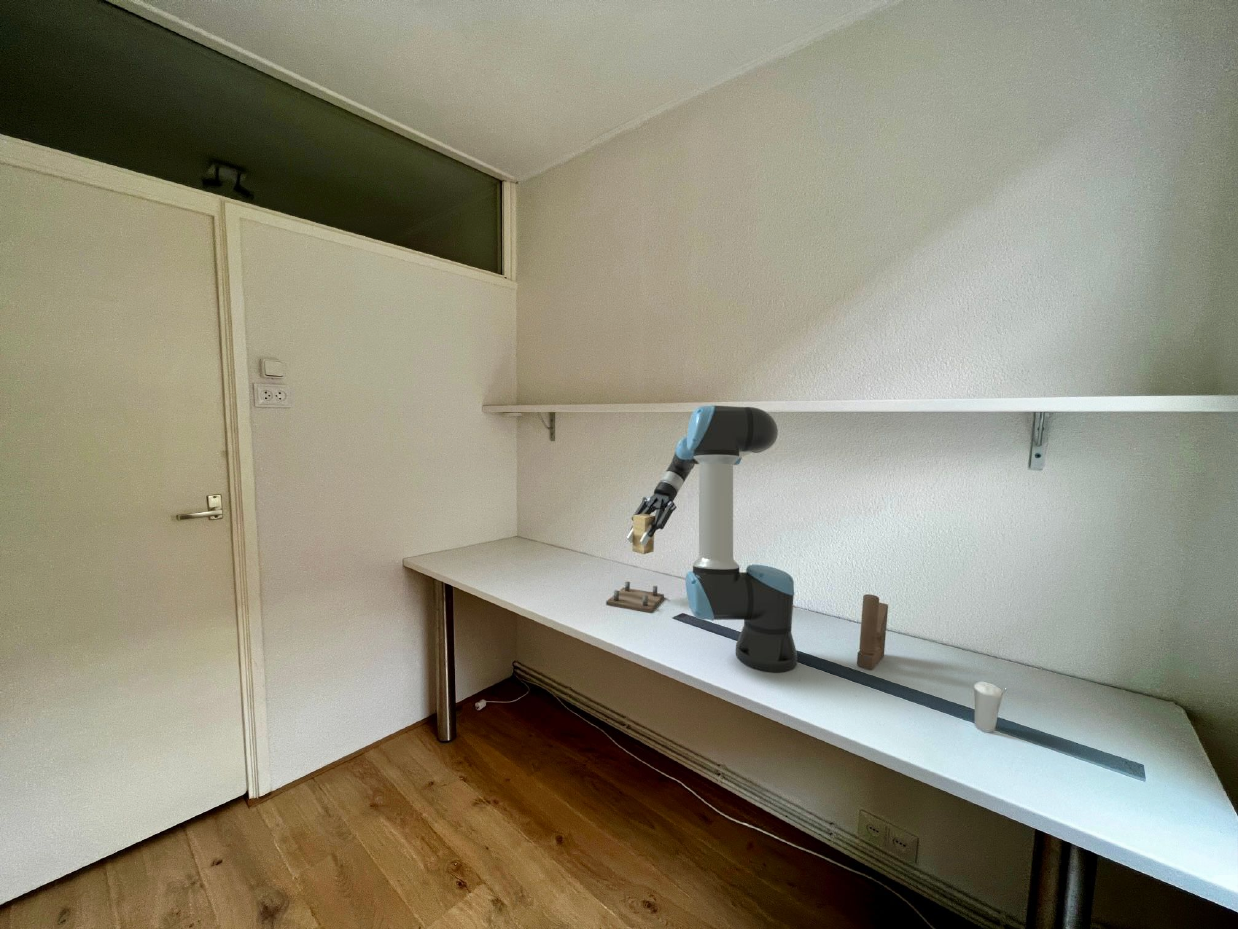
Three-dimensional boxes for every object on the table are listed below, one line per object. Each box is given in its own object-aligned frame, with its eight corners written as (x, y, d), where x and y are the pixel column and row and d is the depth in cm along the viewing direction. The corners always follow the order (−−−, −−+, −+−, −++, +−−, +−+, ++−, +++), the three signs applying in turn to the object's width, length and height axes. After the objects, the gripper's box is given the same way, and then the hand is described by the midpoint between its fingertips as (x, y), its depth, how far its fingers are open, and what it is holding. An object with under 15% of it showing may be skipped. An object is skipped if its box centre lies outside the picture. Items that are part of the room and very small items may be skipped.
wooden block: (884, 657, 128) (889, 590, 127) (871, 671, 120) (877, 600, 119) (869, 652, 131) (874, 586, 129) (856, 666, 123) (861, 596, 121)
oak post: (643, 554, 159) (645, 517, 158) (632, 551, 162) (633, 515, 161) (653, 551, 163) (654, 516, 161) (642, 548, 166) (643, 513, 165)
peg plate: (649, 612, 153) (650, 599, 153) (606, 604, 159) (606, 592, 159) (663, 597, 167) (664, 585, 167) (623, 590, 173) (623, 579, 172)
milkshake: (994, 740, 95) (999, 690, 94) (965, 724, 100) (970, 677, 99) (1008, 734, 97) (1013, 686, 96) (979, 719, 102) (983, 673, 101)
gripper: (694, 497, 166) (662, 554, 155) (652, 491, 178) (620, 543, 168) (685, 483, 161) (652, 540, 151) (643, 478, 174) (610, 530, 163)
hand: (635, 541), depth 159 cm, fingers closed on oak post, 5 cm apart
